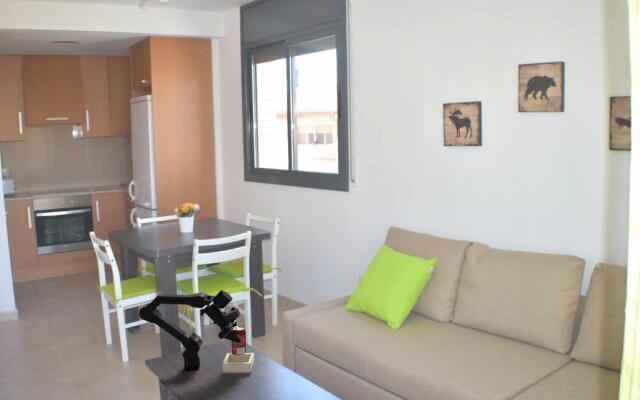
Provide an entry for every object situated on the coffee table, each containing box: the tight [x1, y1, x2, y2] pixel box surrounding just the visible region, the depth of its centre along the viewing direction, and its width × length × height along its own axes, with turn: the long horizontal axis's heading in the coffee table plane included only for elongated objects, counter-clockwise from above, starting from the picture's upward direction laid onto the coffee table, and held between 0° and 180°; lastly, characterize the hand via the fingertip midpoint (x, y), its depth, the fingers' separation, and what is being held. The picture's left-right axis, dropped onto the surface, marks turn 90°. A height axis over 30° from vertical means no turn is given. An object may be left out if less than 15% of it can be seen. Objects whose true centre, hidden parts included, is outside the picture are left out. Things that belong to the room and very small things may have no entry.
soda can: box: [230, 325, 247, 356], centre depth 263 cm, size 7×7×12 cm
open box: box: [222, 352, 255, 374], centre depth 265 cm, size 12×12×4 cm
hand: (241, 339), depth 263 cm, fingers closed on soda can, 6 cm apart
